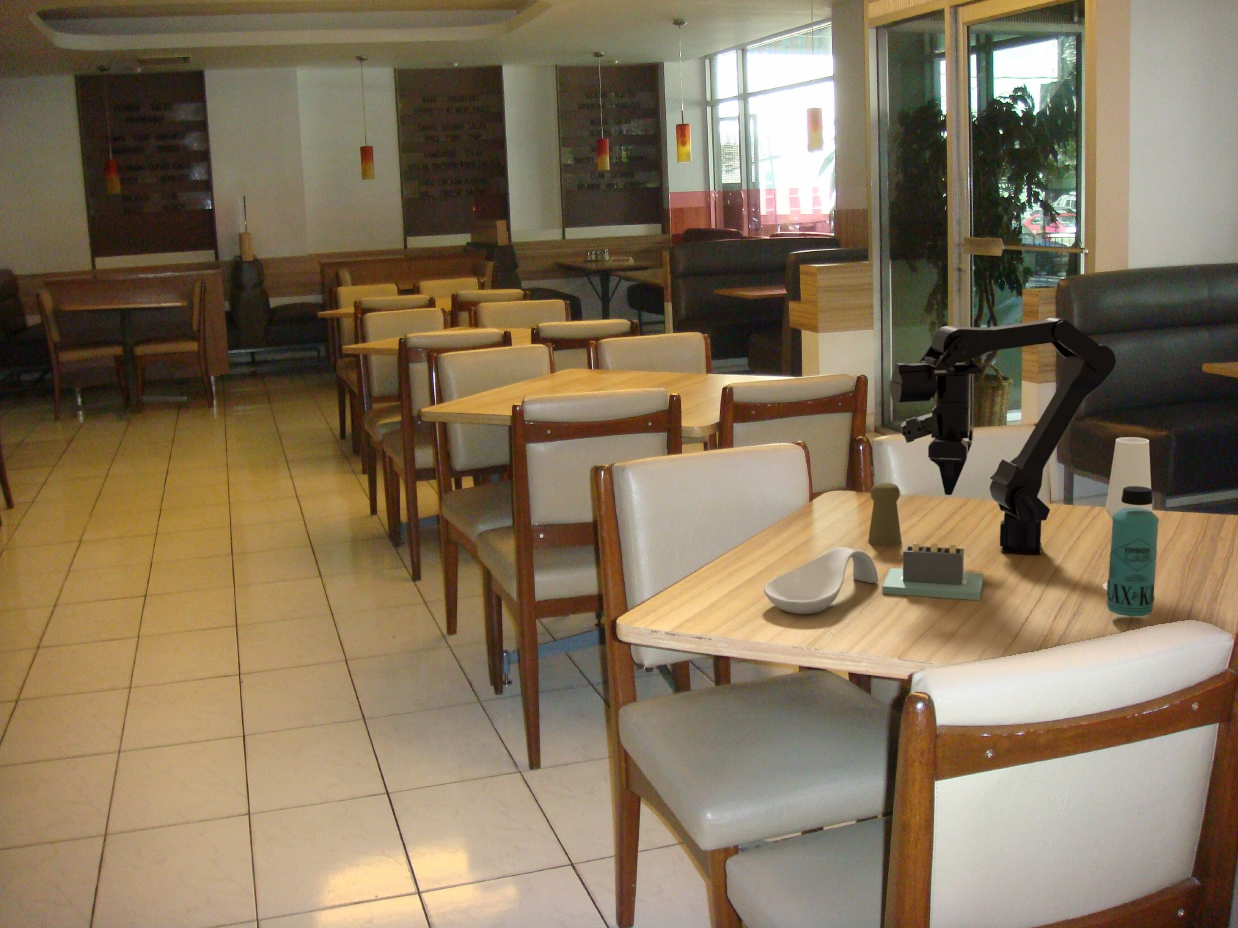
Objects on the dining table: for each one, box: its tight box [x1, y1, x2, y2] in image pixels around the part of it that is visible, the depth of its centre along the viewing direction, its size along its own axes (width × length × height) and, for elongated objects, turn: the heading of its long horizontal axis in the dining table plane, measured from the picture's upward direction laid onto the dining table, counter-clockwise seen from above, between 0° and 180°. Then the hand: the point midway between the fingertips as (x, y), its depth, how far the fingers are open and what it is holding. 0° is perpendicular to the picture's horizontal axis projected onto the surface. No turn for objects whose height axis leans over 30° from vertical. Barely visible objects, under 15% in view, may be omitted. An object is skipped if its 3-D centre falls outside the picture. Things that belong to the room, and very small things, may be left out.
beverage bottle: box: [1105, 486, 1160, 617], centre depth 176 cm, size 6×7×20 cm
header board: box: [881, 542, 984, 601], centre depth 195 cm, size 15×10×7 cm, turn 70°
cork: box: [867, 482, 903, 547], centre depth 222 cm, size 6×6×11 cm
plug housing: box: [902, 544, 965, 585], centre depth 195 cm, size 9×4×5 cm, turn 71°
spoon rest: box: [763, 546, 879, 615], centre depth 192 cm, size 24×12×7 cm, turn 136°
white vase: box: [1102, 436, 1153, 591], centre depth 189 cm, size 7×7×24 cm
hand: (950, 488), depth 211 cm, fingers open, 9 cm apart
